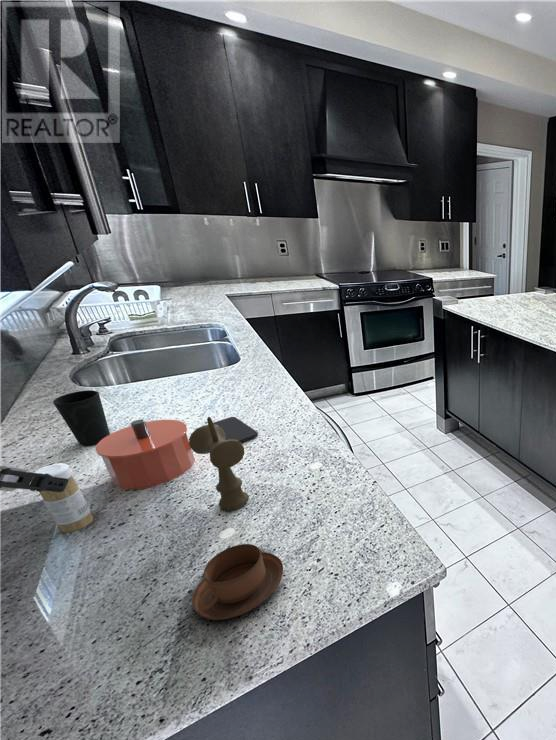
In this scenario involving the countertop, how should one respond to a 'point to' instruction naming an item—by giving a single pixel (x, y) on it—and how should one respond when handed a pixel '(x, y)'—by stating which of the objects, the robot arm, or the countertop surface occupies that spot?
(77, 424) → the cup
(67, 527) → the sprinkles bottle
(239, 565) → the cup and saucer
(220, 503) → the kendama
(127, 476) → the pot
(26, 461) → the countertop surface
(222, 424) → the phone
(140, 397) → the countertop surface
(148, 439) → the pot lid
